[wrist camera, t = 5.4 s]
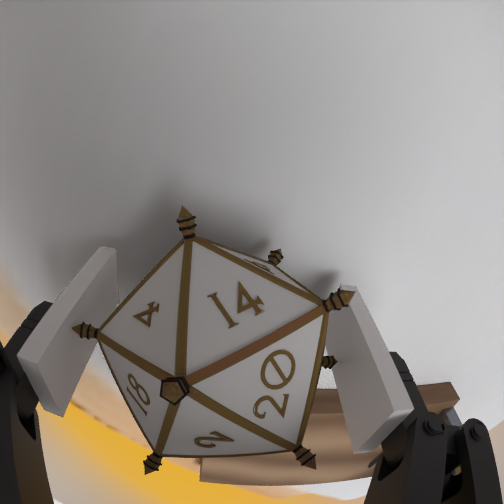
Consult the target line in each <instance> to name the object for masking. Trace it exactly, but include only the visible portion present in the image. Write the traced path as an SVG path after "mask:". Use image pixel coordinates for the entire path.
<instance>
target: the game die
mask: <svg viewBox="0 0 504 504" xmlns="http://www.w3.org/2000/svg"><path fill="white" fill-rule="evenodd" d="M194 218H196V217H195V216H192V215H191V214H190V213H189V212H188V211H187V210H186V209H185V208H184V207H183V206H182V208H181V211H180V214H179V218H178V219H177V223H179V225H180V227H179V230H180V231H182V233H183V239H182V240H181V241H180V242H179V243H178V244H177V245H176V246H175V247H174V248H173V249H172V250H171V251H170V252H169V253H168V254H167V255H166V256H165V257H164V258H163V259H162V260H161V261H160V262H159V263H158V264H157V266H156V267H155V268H154V269H153V270H152V271H151V272H150V273H149V274H148V275H147V276H146V277H145V278H144V279H143V280H142V281H141V282H140V283H139V285H138V286H137V287H136V288H135V289H134V290H133V291H132V292H131V293H130V294H129V295H128V296H127V297H126V299H125V300H124V301H123V302H122V303H121V304H120V305H119V306H118V307H117V308H116V310H115V311H114V312H113V313H112V314H111V315H110V316H109V317H108V318H107V320H106V321H105V322H104V323H103V324H102V325H101V326H100V328H95V327H93V326H91V324H89V325H88V324H85V322H84V321H83V323H82V324H79V325H76V326H74V327H72V329H73V330H74V331H75V332H76V333H77V334H78V335H79V336H80V338H81V339H83V338H87V339H88V340H90V339H91V338H95V339H97V340H98V343H99V345H100V348H101V350H102V352H103V355H104V357H105V359H106V362H107V364H108V366H109V368H110V371H111V373H112V375H113V377H114V379H115V381H116V384H117V386H118V388H119V390H120V392H121V394H122V396H123V398H124V400H125V402H126V404H127V406H128V408H129V409H130V411H131V413H132V415H133V417H134V419H135V421H136V422H137V424H138V426H139V428H140V430H141V431H142V433H143V435H144V436H145V438H146V440H147V442H148V443H149V445H150V446H151V448H152V450H153V453H152V454H151V455H150V456H148V455H147V459H146V461H143V463H144V466H145V475H146V474H148V473H151V472H153V471H158V470H159V469H158V467H159V465H162V464H161V459H162V458H163V457H179V458H224V457H244V456H257V455H268V454H277V453H285V452H293V453H294V454H295V456H296V458H297V459H296V460H299V462H300V463H301V466H306V467H309V468H312V469H315V470H317V469H316V460H315V456H316V454H314V455H313V454H312V453H311V452H310V450H311V449H309V450H308V449H306V448H304V447H303V446H302V441H303V438H304V434H305V431H306V427H307V423H308V420H309V416H310V412H311V408H312V404H313V400H314V396H315V392H316V388H317V384H318V380H319V375H320V371H321V367H322V366H323V367H324V368H325V369H326V368H329V369H331V368H332V367H333V366H334V365H335V364H336V363H337V362H338V361H337V360H336V359H335V358H334V355H332V356H323V355H324V348H325V341H326V334H327V327H328V319H329V312H330V311H332V310H338V311H340V310H341V308H343V307H349V305H348V304H349V303H350V301H351V299H352V298H353V296H354V294H355V292H356V291H348V290H341V289H340V288H338V291H337V292H335V293H333V292H332V293H330V297H328V298H327V299H326V300H322V299H321V298H319V297H318V296H316V295H315V294H314V293H312V292H311V291H310V290H308V289H307V288H306V287H304V286H303V285H301V284H300V283H299V282H297V281H296V280H295V279H293V278H292V277H291V276H289V275H288V274H286V273H285V272H284V271H282V270H281V269H280V268H278V267H277V266H276V265H277V264H279V263H280V262H281V261H280V260H281V259H282V258H283V256H282V253H281V248H280V249H278V250H275V251H270V253H271V254H270V255H268V259H269V260H268V261H265V260H262V259H259V258H257V257H254V256H251V255H248V254H245V253H243V252H240V251H237V250H234V249H231V248H229V247H226V246H223V245H220V244H218V243H215V242H212V241H209V240H206V239H204V238H201V237H198V236H196V235H195V233H194V232H195V227H196V226H197V224H195V223H194Z"/></svg>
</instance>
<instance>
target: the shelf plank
mask: <svg viewBox="0 0 504 504" xmlns="http://www.w3.org/2000/svg"><path fill="white" fill-rule="evenodd" d="M417 388H418V390H419V392H420V394H421V397H422V399H423V401H424V403H425V405H426V408H427V410H428V411H429V412H434V413H436V414H438V415H439V414H440V413H441V411H442V410H443V409H446V408H450V407H454V405H455V404H456V403H457V402H458V401H459V400H460V398H459V396H458V395H457V393H456V391H455V389H454V387H453V386H452V384H451V382H448V383H440V384H431V385H421V386H417ZM302 446H303V447H304V448H306V449H308V450H309V449H311V450H310V452H311V453H312V454H313V455H314V454H316V456H315V460H316V469H317V470H315V469H312V468H309V467H306V466H301V463H300V462H299V460H296V459H297V458H296V456H295V454H294V453H293V452H285V453H277V454H268V455H257V456H244V457H224V458H202V459H201V467H200V481H201V482H209V483H220V484H233V485H258V486H281V485H305V484H319V483H330V482H339V481H346V480H354V479H360V478H366V477H372V476H373V473H374V468H375V466H376V463H375V464H374V465H373V466H372V467H370V468H368V465H369V463H370V462H371V461H372V460H373V459H375V458H376V457H377V456H378V455H379V454H380V453H381V452H382V451H383V449H382V446H381V444H380V445H379V446H378V447H377V448H376V449H375V450H373V451H372V452H366V453H357V454H353V449H352V445H351V441H350V437H349V433H348V429H347V425H346V421H345V417H344V413H343V409H342V405H341V401H340V397H339V393H338V390H337V389H316V392H315V396H314V400H313V404H312V408H311V412H310V416H309V420H308V423H307V427H306V431H305V434H304V438H303V441H302Z"/></svg>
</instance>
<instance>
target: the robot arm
mask: <svg viewBox="0 0 504 504" xmlns="http://www.w3.org/2000/svg"><path fill="white" fill-rule="evenodd" d="M339 288H340V289H341V290H348V291H356V292H355V294H354V296H353V298H352V299H351V301H350V303H349V304H348V305H349V307H343V308H341V310H340V311H338V310H332V311H330V312H329V319H328V327H327V334H326V341H325V346H326V350H327V353H328V356H332V355H334V358H335V359H336V360H337V361H338V362H337V363H336V364H335V365H334V366H333V367H332V371H333V375H334V379H335V382H336V386H337V390H338V393H339V397H340V401H341V405H342V409H343V413H344V417H345V421H346V425H347V429H348V433H349V437H350V441H351V445H352V449H353V454H357V453H366V452H372V451H373V450H375V449H376V448H377V447H378V446H379V445H380V444H381V446H382V449H383V451H382V452H381V453H380V454H379V455H378V456H377V457H376V458H375V459H373V460H372V461H371V462H370V463H369V465H368V468H370V467H372V466H373V465H374V464H375V463H376V466H375V468H374V473H373V476H372V480H371V483H370V486H369V489H368V492H367V495H366V499H365V501H364V504H503V502H502V495H501V488H500V482H499V477H498V472H497V466H496V462H495V457H494V453H493V449H492V445H491V440H490V437H489V433H488V430H487V428H486V426H485V425H484V424H483V423H482V422H481V421H480V420H478V419H474V418H472V419H468V420H467V421H466V422H465V423H464V424H463V425H462V426H453V425H447V424H446V423H445V421H444V420H443V419H442V418H441V417H440V416H439V415H438V414H436V413H434V412H429V411H428V410H427V408H426V405H425V403H424V401H423V399H422V397H421V394H420V392H419V390H418V388H417V386H416V384H415V382H413V380H414V379H413V377H412V375H411V373H409V372H410V371H409V369H408V367H407V365H406V363H405V361H404V360H403V359H402V358H401V357H400V356H399V355H398V354H397V352H389V351H388V349H387V347H386V345H385V343H384V341H383V339H382V337H381V335H380V332H379V330H378V328H377V326H376V324H375V322H374V320H373V318H372V316H371V315H370V313H369V311H368V309H367V307H366V305H365V303H364V301H363V299H362V297H361V295H360V293H359V291H358V290H357V288H356V286H348V285H340V287H339ZM118 302H119V293H118V277H117V251H116V249H115V248H109V247H103V246H100V247H99V248H98V250H97V251H96V252H95V253H94V254H93V255H92V256H91V258H90V259H89V260H88V261H87V262H86V263H85V265H84V266H83V267H82V268H81V269H80V271H79V272H78V273H77V274H76V275H75V277H74V278H73V279H72V280H71V282H70V283H69V284H68V285H67V286H66V288H65V289H64V290H63V292H62V293H61V294H60V295H59V297H58V298H57V299H56V300H55V302H54V303H50V302H47V301H44V302H42V303H41V304H39V305H38V306H36V307H35V308H34V309H33V310H32V311H31V312H30V314H29V315H28V316H27V319H25V320H24V321H23V323H22V324H21V327H19V328H18V329H17V331H16V332H15V334H14V335H13V336H12V338H11V339H10V340H9V342H8V343H7V345H6V346H5V347H4V348H3V346H2V343H1V342H0V504H54V502H53V498H52V494H51V490H50V486H49V482H48V478H47V472H46V467H45V462H44V457H43V450H42V444H41V437H40V429H39V419H38V414H37V411H36V409H35V408H36V406H37V404H38V402H40V403H41V405H42V407H43V408H44V410H46V411H48V412H51V413H53V414H56V415H58V416H61V417H63V416H64V414H65V411H66V409H67V406H68V404H69V402H70V400H71V397H72V395H73V393H74V391H75V388H76V386H77V384H78V382H79V379H80V377H81V375H82V373H83V371H84V369H85V367H86V365H87V362H88V360H89V358H90V356H91V354H92V352H93V350H94V348H95V346H96V344H97V342H98V340H97V339H95V338H91V339H90V340H88V339H87V338H83V339H81V338H80V336H79V335H78V334H77V333H76V332H75V331H74V330H73V329H72V327H74V326H76V325H79V324H82V323H83V321H84V322H85V324H88V325H89V324H91V326H93V327H95V328H100V326H101V325H102V324H103V323H104V322H105V321H106V320H107V318H108V317H109V316H110V315H111V314H112V313H113V311H114V309H115V308H116V306H117V304H118ZM459 466H460V467H461V472H460V473H459V474H458V475H457V474H456V473H455V469H456V468H457V467H459Z"/></svg>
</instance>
